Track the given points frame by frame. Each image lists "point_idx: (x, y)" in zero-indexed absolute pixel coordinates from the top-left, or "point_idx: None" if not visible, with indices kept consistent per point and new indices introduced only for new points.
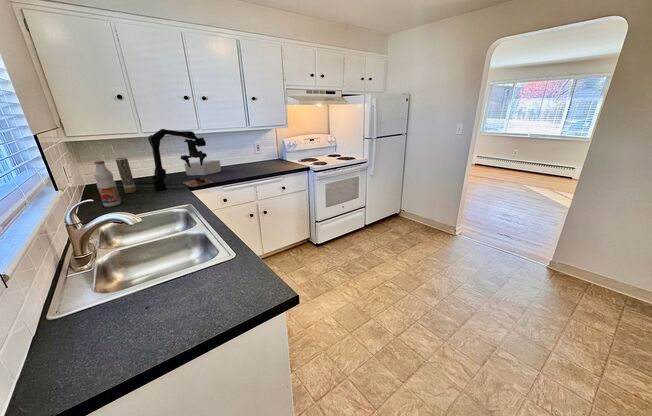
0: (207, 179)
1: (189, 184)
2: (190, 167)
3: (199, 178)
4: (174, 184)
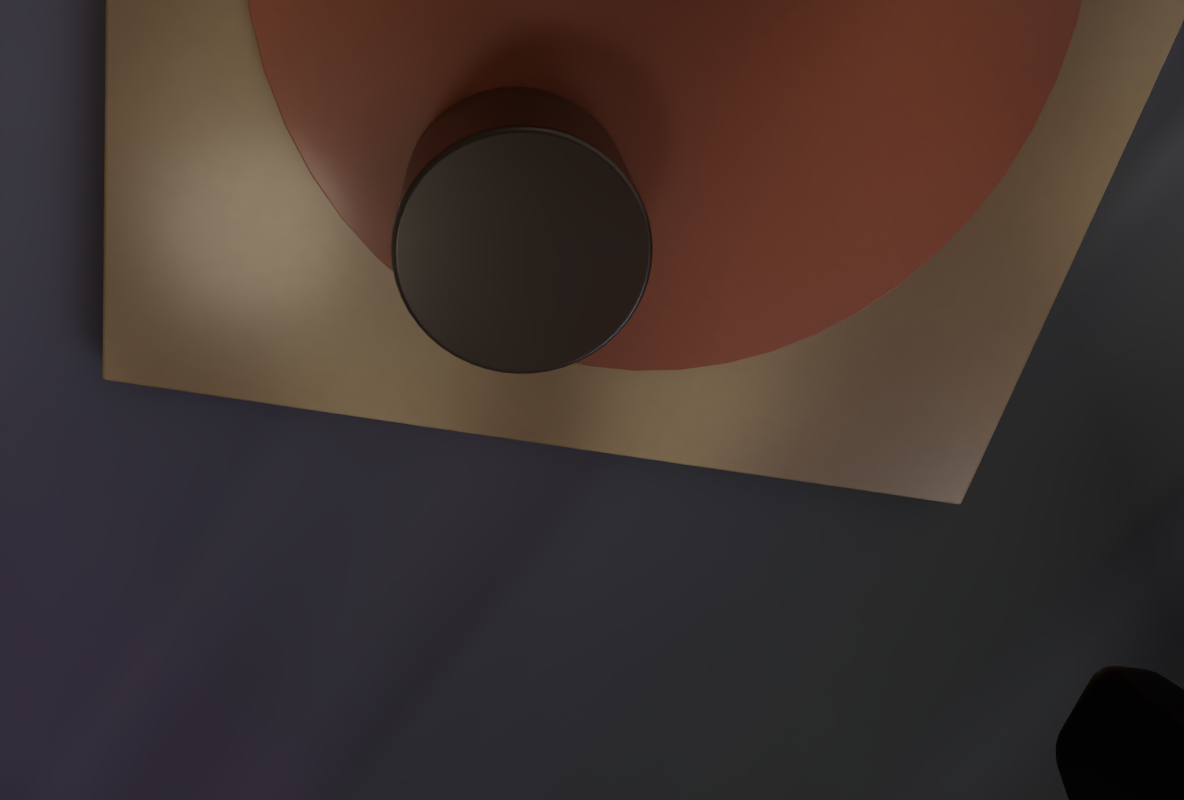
0: (109, 30)
1: (1111, 3)
2: (1140, 673)
3: (525, 109)
4: (1143, 566)
